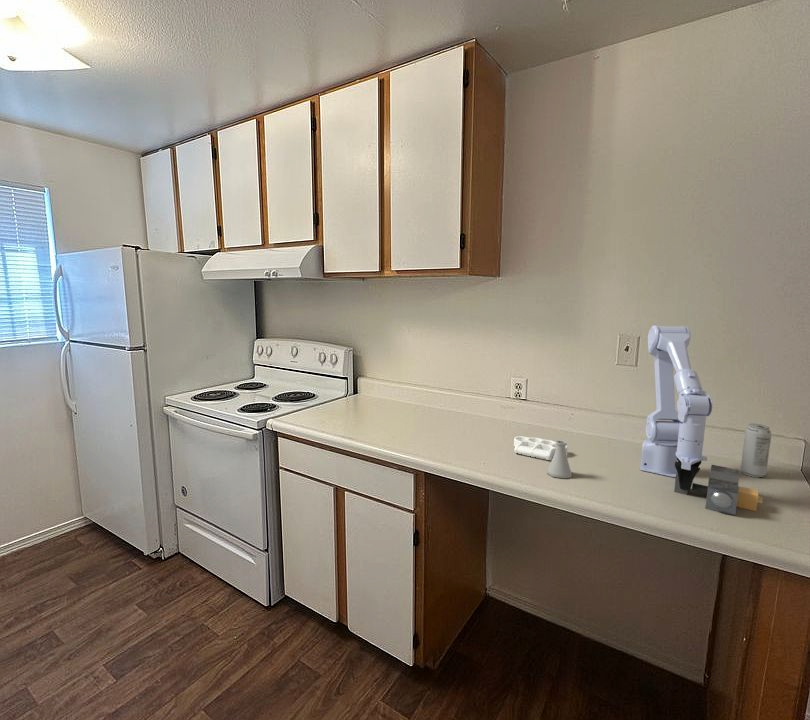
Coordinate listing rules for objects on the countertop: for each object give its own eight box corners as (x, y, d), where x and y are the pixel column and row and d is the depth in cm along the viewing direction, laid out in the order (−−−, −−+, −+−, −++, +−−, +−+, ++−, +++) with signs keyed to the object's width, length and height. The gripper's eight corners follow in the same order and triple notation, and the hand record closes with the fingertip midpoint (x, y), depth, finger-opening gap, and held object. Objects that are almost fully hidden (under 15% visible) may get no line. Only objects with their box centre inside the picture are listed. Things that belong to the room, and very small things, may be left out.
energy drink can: (754, 470, 135) (760, 422, 133) (771, 478, 129) (777, 428, 127) (735, 470, 135) (741, 423, 133) (751, 478, 129) (757, 428, 127)
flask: (543, 469, 135) (545, 437, 133) (567, 469, 134) (569, 438, 133) (550, 479, 128) (552, 445, 126) (575, 479, 127) (578, 446, 126)
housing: (705, 509, 110) (708, 484, 109) (709, 486, 123) (711, 464, 122) (735, 517, 106) (738, 491, 105) (735, 492, 120) (738, 469, 119)
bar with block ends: (674, 492, 120) (675, 474, 119) (675, 487, 123) (677, 469, 122) (761, 512, 109) (763, 493, 108) (760, 506, 112) (763, 487, 111)
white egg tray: (504, 453, 149) (519, 442, 161) (559, 465, 139) (571, 452, 151) (505, 444, 149) (520, 433, 161) (559, 455, 139) (571, 442, 151)
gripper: (707, 449, 109) (701, 500, 111) (710, 434, 121) (705, 481, 123) (674, 443, 114) (669, 493, 116) (680, 430, 125) (675, 475, 127)
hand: (685, 487), depth 120 cm, fingers closed on bar with block ends, 3 cm apart
